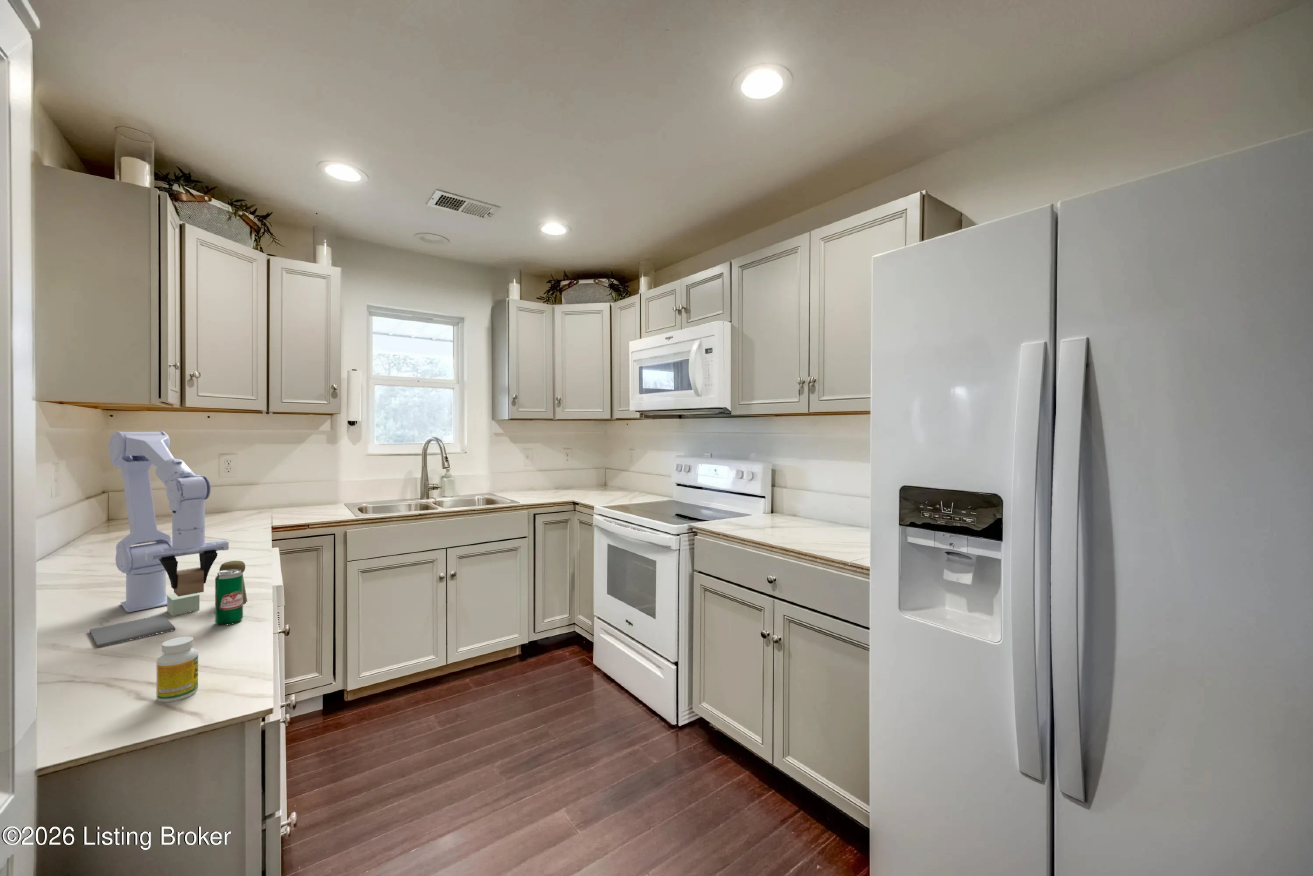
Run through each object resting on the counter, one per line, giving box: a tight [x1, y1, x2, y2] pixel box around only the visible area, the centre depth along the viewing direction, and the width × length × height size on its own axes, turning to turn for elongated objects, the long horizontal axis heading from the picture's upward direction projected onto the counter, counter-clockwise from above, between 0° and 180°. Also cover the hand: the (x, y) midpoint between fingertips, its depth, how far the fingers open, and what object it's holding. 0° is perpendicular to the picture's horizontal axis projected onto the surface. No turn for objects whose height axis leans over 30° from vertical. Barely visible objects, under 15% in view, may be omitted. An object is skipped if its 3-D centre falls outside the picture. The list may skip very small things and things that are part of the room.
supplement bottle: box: [155, 636, 199, 703], centre depth 91 cm, size 5×5×10 cm
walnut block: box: [173, 566, 205, 597], centre depth 123 cm, size 4×4×5 cm
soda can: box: [214, 569, 244, 626], centre depth 123 cm, size 5×5×12 cm
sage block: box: [166, 593, 200, 616], centre depth 129 cm, size 5×5×4 cm
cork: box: [218, 560, 248, 605], centre depth 134 cm, size 6×6×11 cm
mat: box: [89, 614, 176, 648], centre depth 116 cm, size 12×12×1 cm
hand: (188, 585), depth 123 cm, fingers closed on walnut block, 4 cm apart
